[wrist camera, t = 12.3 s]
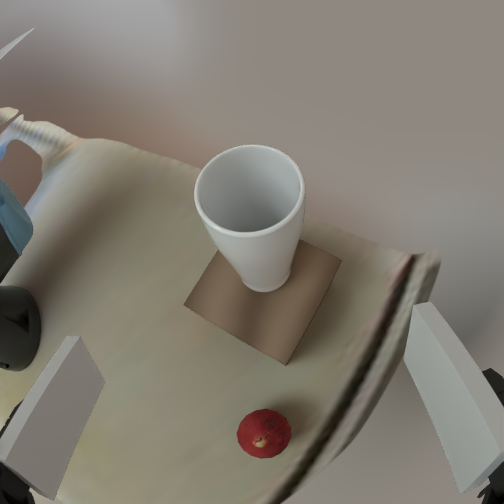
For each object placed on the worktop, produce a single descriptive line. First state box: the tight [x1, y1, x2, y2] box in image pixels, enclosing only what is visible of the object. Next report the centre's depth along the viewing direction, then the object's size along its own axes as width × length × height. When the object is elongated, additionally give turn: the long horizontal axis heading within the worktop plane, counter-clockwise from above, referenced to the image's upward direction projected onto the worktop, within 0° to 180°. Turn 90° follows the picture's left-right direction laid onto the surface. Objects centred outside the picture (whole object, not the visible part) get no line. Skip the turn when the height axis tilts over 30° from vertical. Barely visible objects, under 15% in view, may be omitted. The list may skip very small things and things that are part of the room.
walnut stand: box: [184, 239, 342, 365], centre depth 35 cm, size 12×12×8 cm
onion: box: [237, 409, 291, 458], centre depth 29 cm, size 6×6×8 cm
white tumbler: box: [194, 144, 305, 292], centre depth 25 cm, size 7×7×15 cm
